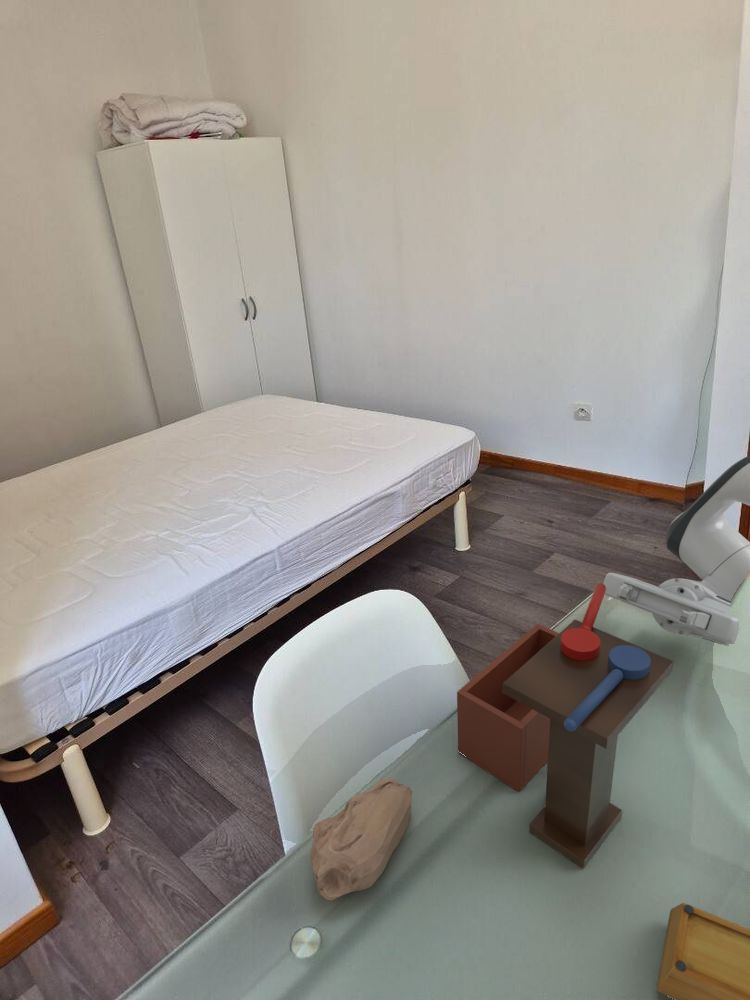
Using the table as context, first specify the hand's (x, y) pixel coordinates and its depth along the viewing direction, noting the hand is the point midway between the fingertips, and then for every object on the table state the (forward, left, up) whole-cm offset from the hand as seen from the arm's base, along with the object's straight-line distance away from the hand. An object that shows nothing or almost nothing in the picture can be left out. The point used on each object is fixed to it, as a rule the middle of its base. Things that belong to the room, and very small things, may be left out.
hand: (653, 604), depth 99 cm
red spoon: (+12, +10, +5) cm, 17 cm away
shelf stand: (+15, +19, -21) cm, 32 cm away
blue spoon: (+14, +23, +5) cm, 28 cm away
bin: (+18, +2, -21) cm, 28 cm away
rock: (+40, +24, -18) cm, 50 cm away
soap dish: (+5, +40, -16) cm, 43 cm away
